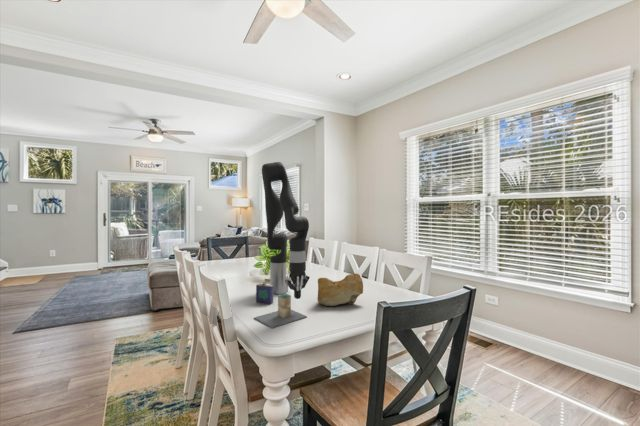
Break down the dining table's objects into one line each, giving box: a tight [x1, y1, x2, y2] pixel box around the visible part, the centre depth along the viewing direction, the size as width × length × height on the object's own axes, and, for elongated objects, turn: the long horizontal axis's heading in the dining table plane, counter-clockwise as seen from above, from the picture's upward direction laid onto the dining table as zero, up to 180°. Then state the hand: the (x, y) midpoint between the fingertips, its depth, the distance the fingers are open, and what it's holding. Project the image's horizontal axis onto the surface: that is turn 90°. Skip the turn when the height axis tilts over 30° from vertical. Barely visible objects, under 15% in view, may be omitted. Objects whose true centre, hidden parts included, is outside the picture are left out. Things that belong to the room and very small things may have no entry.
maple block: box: [277, 293, 292, 318], centre depth 135 cm, size 4×4×9 cm
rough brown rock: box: [317, 273, 364, 307], centre depth 157 cm, size 23×17×15 cm
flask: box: [255, 281, 274, 305], centre depth 155 cm, size 9×3×11 cm, turn 74°
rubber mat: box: [253, 309, 308, 329], centre depth 134 cm, size 18×14×1 cm
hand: (297, 298), depth 140 cm, fingers closed
